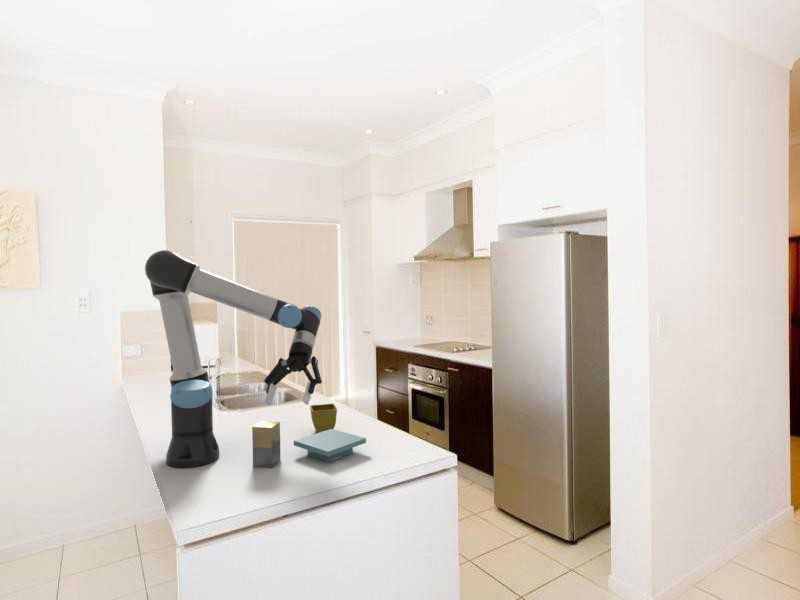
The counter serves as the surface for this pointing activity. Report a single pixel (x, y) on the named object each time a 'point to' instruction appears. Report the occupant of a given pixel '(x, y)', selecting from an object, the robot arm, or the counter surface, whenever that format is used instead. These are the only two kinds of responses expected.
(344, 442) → the teal stand
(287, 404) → the counter surface
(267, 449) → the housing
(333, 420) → the flower pot
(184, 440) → the robot arm
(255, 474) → the counter surface
